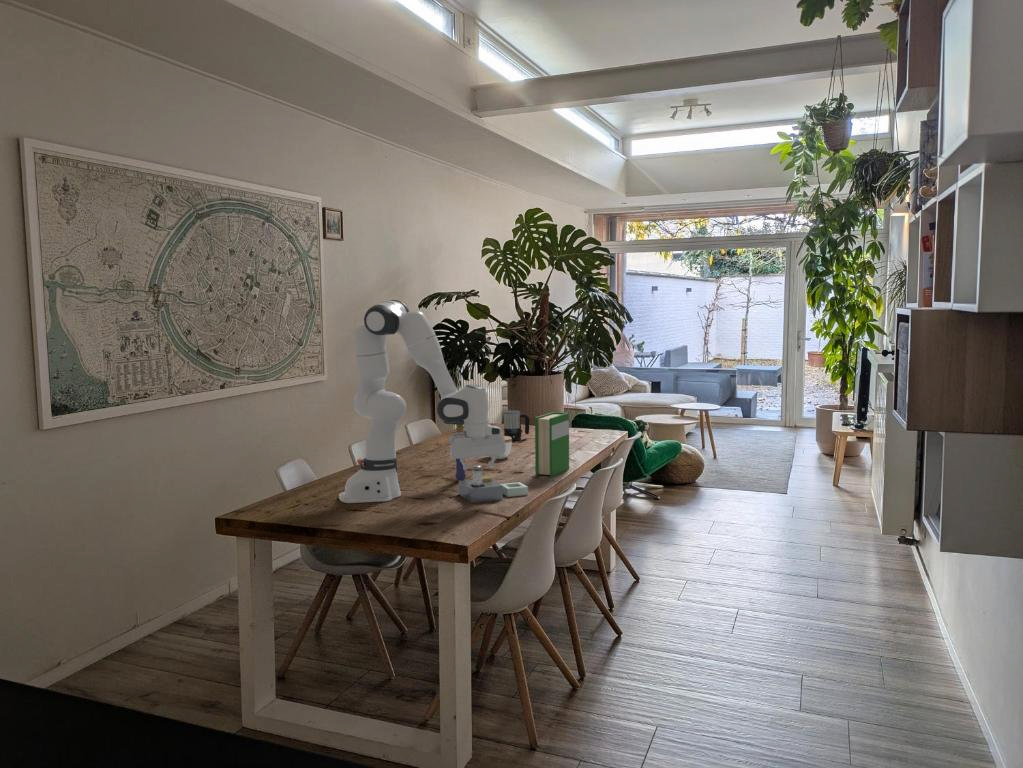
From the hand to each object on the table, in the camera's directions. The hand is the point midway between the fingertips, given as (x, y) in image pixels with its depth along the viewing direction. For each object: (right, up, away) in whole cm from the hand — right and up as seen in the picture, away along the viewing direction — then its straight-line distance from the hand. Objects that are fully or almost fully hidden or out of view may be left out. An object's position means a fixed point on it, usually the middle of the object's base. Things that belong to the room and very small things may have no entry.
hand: (478, 468), depth 276 cm
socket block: (+1, -11, +5) cm, 12 cm away
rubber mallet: (-8, -9, +31) cm, 33 cm away
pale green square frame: (+13, -10, +9) cm, 19 cm away
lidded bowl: (+6, -4, +78) cm, 78 cm away
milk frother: (+13, +1, +130) cm, 131 cm away
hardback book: (+29, -7, +45) cm, 54 cm away
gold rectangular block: (+2, -10, +10) cm, 14 cm away
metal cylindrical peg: (0, -11, +1) cm, 11 cm away
